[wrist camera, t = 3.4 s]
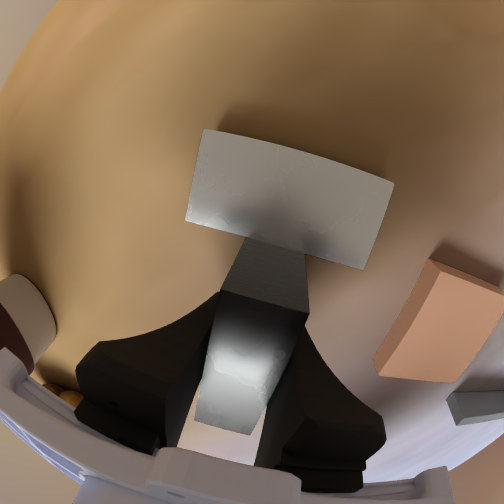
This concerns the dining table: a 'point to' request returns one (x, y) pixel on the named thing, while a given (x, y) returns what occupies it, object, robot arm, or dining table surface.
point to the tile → (440, 326)
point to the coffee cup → (24, 320)
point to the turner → (272, 258)
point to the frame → (476, 406)
